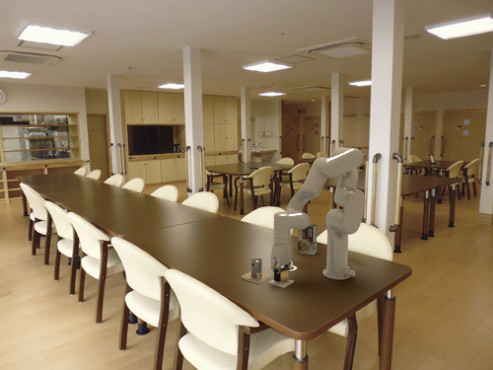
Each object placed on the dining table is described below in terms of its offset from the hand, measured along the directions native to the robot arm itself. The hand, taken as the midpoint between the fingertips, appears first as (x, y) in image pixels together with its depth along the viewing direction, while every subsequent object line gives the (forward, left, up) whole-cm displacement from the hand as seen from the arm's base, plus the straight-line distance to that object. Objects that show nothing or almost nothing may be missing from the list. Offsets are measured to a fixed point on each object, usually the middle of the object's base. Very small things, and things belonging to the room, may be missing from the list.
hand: (281, 278), depth 158 cm
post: (+12, +3, -2) cm, 13 cm away
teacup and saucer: (+6, -20, -3) cm, 20 cm away
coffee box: (+12, -43, -2) cm, 45 cm away
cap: (0, 0, 0) cm, 0 cm away
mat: (0, 0, -2) cm, 2 cm away
